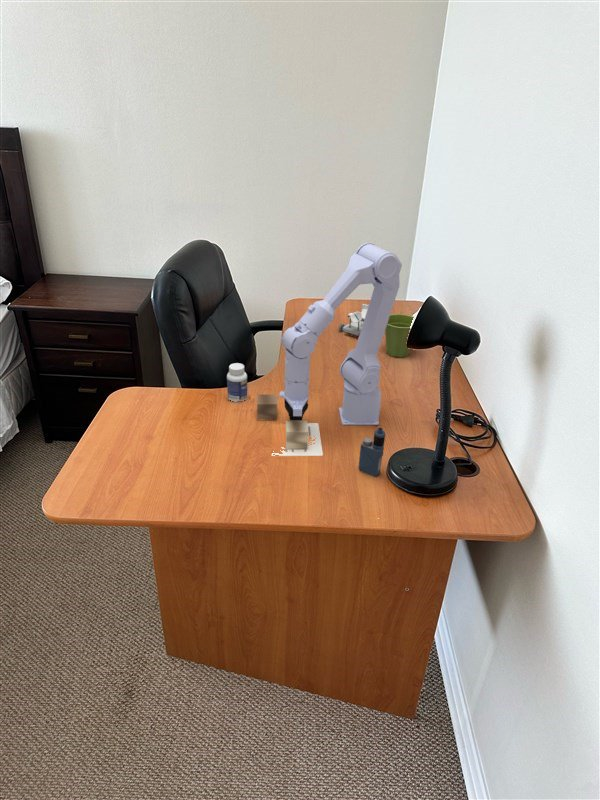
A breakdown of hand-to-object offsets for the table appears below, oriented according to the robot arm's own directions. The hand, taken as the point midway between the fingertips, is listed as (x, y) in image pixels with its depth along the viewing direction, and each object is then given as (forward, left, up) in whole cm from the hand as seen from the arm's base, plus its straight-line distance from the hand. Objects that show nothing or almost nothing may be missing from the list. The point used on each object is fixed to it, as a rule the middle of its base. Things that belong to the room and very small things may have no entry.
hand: (295, 425), depth 138 cm
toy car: (-26, -64, -3) cm, 69 cm away
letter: (0, +3, -2) cm, 4 cm away
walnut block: (+7, -8, -2) cm, 11 cm away
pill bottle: (+15, -17, -2) cm, 23 cm away
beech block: (0, +5, -2) cm, 5 cm away
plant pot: (-35, -46, -2) cm, 58 cm away
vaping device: (-16, +16, -2) cm, 23 cm away
